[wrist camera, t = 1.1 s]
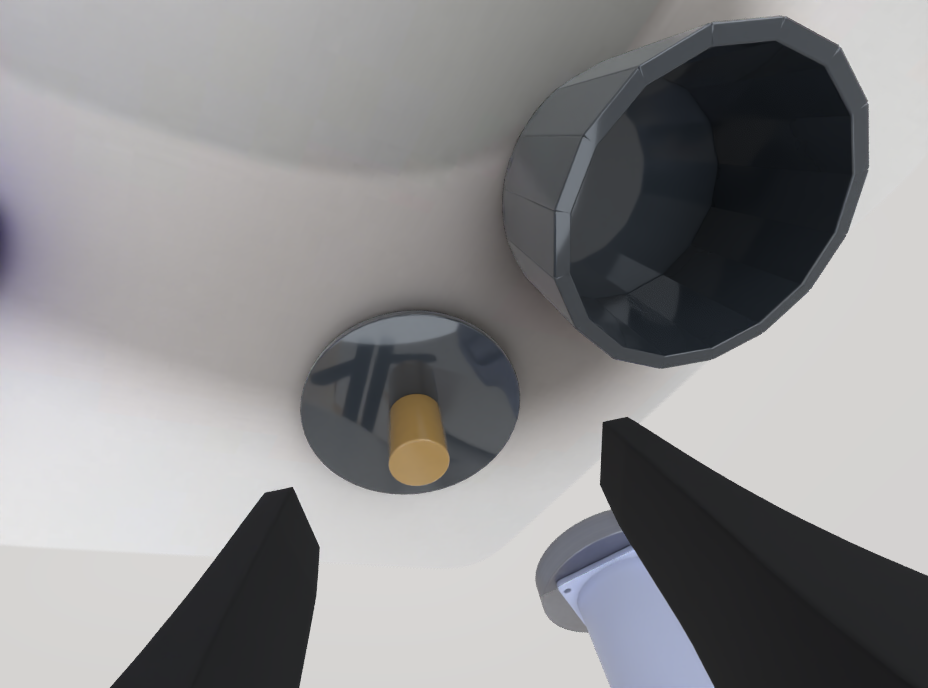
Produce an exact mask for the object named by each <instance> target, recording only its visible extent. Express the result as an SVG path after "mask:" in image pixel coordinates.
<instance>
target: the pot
mask: <svg viewBox="0 0 928 688" xmlns="http://www.w3.org/2000/svg"><path fill="white" fill-rule="evenodd" d="M867 102H868V100H867V98H866V96H865V94H864V92H863V90H862V88H861V86H860V84H859V82H858V80H857V78H856V76H855V74H854V72H853V70H852V68H851V66H850V64H849V62H848V60H847V58H846V56H845V54H844V52H843V50H842V48H841V47H839V45H837V44H836V43H834V42H832V41H830V40H828V39H826V38H825V37H823V36H821V35H819V34H817V33H816V32H814V31H812V30H810V29H808V28H806V27H805V26H803V25H801V24H799V23H797V22H795V21H794V20H792V19H790V18H788V17H786V16H771V17H760V18H749V19H738V20H727V21H716V22H711V23H708V24H705V25H702V26H699V27H696V28H694V29H691V30H688V31H685V32H682V33H680V34H677V35H674V36H671V37H668V38H666V39H663V40H660V41H657V42H655V43H652V44H649V45H646V46H643V47H641V48H638V49H635V50H632V51H629V52H627V53H624V54H621V55H618V56H615V57H613V58H610V59H607V60H604V61H602V62H600V63H598V64H597V65H595V66H593V67H592V68H590V69H588V70H586V71H585V72H583V73H581V74H579V75H577V76H575V77H573V78H572V79H571V80H569V81H568V82H566V83H565V84H563V85H562V86H560V87H559V88H557V89H556V90H555V91H554V92H553V93H552V95H551V96H549V97H548V98H547V99H546V100H545V101H544V103H543V104H542V105H541V106H540V107H539V108H538V110H537V111H536V112H535V113H534V114H533V116H532V117H531V119H530V120H529V122H528V123H527V125H526V126H525V128H524V129H523V131H522V133H521V135H520V137H519V139H518V141H517V143H516V145H515V147H514V150H513V153H512V155H511V158H510V161H509V164H508V168H507V172H506V176H505V180H504V188H503V196H502V213H503V222H504V229H505V233H506V237H507V241H508V244H509V246H510V249H511V251H512V254H513V256H514V258H515V259H516V261H517V263H518V265H519V266H520V268H521V270H522V272H523V274H524V276H525V277H526V278H527V279H528V280H529V281H530V282H531V283H532V284H533V285H534V286H535V287H536V288H537V289H538V290H539V291H540V292H541V294H542V295H543V296H544V297H545V298H546V299H547V300H548V301H549V302H550V303H551V304H552V305H553V306H554V307H555V308H556V309H557V310H558V311H559V312H560V313H561V314H562V315H563V316H564V317H565V318H566V319H567V320H568V321H569V322H570V323H571V324H572V326H573V327H574V328H575V329H576V330H578V331H579V332H580V333H581V334H583V335H584V336H585V337H586V338H588V339H589V340H590V341H591V342H593V343H594V344H595V345H596V346H598V347H599V348H600V349H601V350H603V351H604V352H605V353H606V354H608V355H609V356H610V357H611V358H613V359H616V360H621V361H626V362H630V363H635V364H640V365H645V366H649V367H654V368H659V369H660V368H662V369H663V368H669V367H674V366H680V365H686V364H691V363H697V362H702V361H708V360H711V359H714V358H716V357H718V356H720V355H722V354H724V353H726V352H728V351H730V350H731V349H734V348H736V347H738V346H739V345H741V344H743V343H745V342H747V341H749V340H751V339H753V338H755V337H757V336H759V335H761V334H762V332H765V331H766V330H767V329H768V328H769V327H770V326H771V325H772V324H774V323H775V322H776V321H777V320H778V319H779V318H780V317H781V316H782V315H783V314H785V313H786V312H787V311H788V310H789V309H790V308H791V307H792V306H793V305H794V304H796V303H797V302H798V301H799V300H800V299H801V298H802V297H803V296H804V295H805V294H807V292H809V290H810V289H811V288H812V287H813V285H814V283H815V282H816V281H817V279H818V278H819V276H820V275H821V273H822V272H823V270H824V268H825V267H826V265H827V264H828V262H829V261H830V259H831V258H832V256H833V255H834V253H835V252H836V250H837V249H838V247H839V246H840V244H841V243H842V241H843V240H844V238H845V237H846V234H847V233H848V230H849V227H850V224H851V221H852V218H853V215H854V212H855V209H856V206H857V203H858V200H859V197H860V194H861V191H862V188H863V185H864V182H865V179H866V176H867V173H868V170H867V169H868V168H869V104H868V103H867Z"/></svg>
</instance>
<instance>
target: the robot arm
mask: <svg viewBox="0 0 928 688" xmlns="http://www.w3.org/2000/svg"><path fill="white" fill-rule="evenodd" d="M600 485H601V487H602V490H603V492H604V494H605V496H606V499H607V501H608V503H609V505H610V507H611V509H612V511H613V514H614V516H615V518H616V520H617V522H618V524H619V526H620V527H621V529H622V531H623V532H624V534H625V536H626V537H627V539H628V541H629V542H630V544H631V545H630V546H628V547H626V548H623V549H621V550H619V551H617V552H615V553H613V554H611V555H609V556H607V557H605V558H603V559H601V560H599V561H597V562H595V563H593V564H591V565H589V566H587V567H585V568H582V569H580V570H578V571H576V572H574V573H572V574H570V575H568V576H566V577H564V578H562V579H560V580H559V581H558V582H557V584H556V585H557V588H558V590H559V592H560V593H561V594H562V596H563V597H564V598H565V599H566V601H567V602H568V603H569V605H570V606H571V607H572V609H573V610H574V611H575V613H576V614H577V615H578V617H579V618H580V619H581V620H582V622H583V623H584V624H585V626H586V627H587V630H588V632H589V634H590V637H591V639H592V642H593V644H594V647H595V650H596V652H597V654H598V657H599V659H600V662H601V665H602V667H603V669H604V672H605V675H606V677H607V679H608V682H609V684H610V687H611V688H928V576H927V575H924V574H922V573H919V572H917V571H915V570H913V569H910V568H908V567H905V566H903V565H901V564H898V563H896V562H894V561H891V560H889V559H886V558H884V557H882V556H880V555H877V554H875V553H873V552H871V551H868V550H866V549H864V548H862V547H859V546H857V545H855V544H853V543H850V542H848V541H846V540H844V539H842V538H840V537H838V536H836V535H834V534H831V533H830V532H828V531H825V530H823V529H821V528H819V527H817V526H815V525H813V524H811V523H809V522H807V521H805V520H803V519H801V518H799V517H797V516H795V515H792V514H791V513H789V512H787V511H785V510H783V509H781V508H779V507H777V506H776V505H774V504H772V503H770V502H768V501H766V500H765V499H763V498H761V497H759V496H757V495H755V494H754V493H752V492H750V491H748V490H746V489H744V488H743V487H741V486H739V485H737V484H736V483H734V482H732V481H731V480H729V479H727V478H725V477H724V476H722V475H720V474H719V473H717V472H715V471H713V470H712V469H710V468H708V467H707V466H705V465H703V464H702V463H700V462H699V461H697V460H695V459H694V458H692V457H690V456H689V455H687V454H686V453H684V452H682V451H681V450H679V449H678V448H676V447H674V446H673V445H671V444H670V443H668V442H667V441H665V440H663V439H662V438H660V437H659V436H657V435H656V434H654V433H652V432H651V431H649V430H648V429H646V428H645V427H643V426H641V425H640V424H638V423H637V422H635V421H633V420H632V419H630V418H628V417H625V418H620V419H615V420H610V421H606V422H603V429H602V452H601V476H600ZM319 549H320V547H319V545H318V542H317V540H316V538H315V536H314V533H313V531H312V529H311V527H310V525H309V522H308V520H307V518H306V516H305V513H304V511H303V509H302V507H301V504H300V502H299V500H298V498H297V495H296V493H295V491H294V489H293V487H290V488H286V489H281V490H276V491H271V492H266V493H264V495H263V496H262V497H261V498H260V500H259V501H258V502H257V504H256V505H255V506H254V508H253V509H252V510H251V512H250V513H249V514H248V516H247V517H246V518H245V520H244V521H243V522H242V524H241V525H240V526H239V528H238V529H237V531H236V532H235V533H234V535H233V536H232V537H231V539H230V540H229V541H228V543H227V544H226V545H225V547H224V548H223V549H222V551H221V552H220V553H219V555H218V556H217V557H216V559H215V560H214V561H213V563H212V564H211V565H210V567H209V568H208V569H207V571H206V572H205V573H204V574H203V576H202V577H201V578H200V580H199V581H198V582H197V584H196V585H195V586H194V587H193V589H192V590H191V591H190V593H189V594H188V595H187V596H186V598H185V599H184V600H183V601H182V603H181V604H180V605H179V606H178V608H177V609H176V610H175V611H174V612H173V614H172V615H171V616H170V617H169V619H168V620H167V621H166V622H165V623H164V625H163V626H162V627H161V628H160V630H159V631H158V632H157V633H156V634H155V636H154V637H153V638H152V639H151V641H150V642H149V643H148V644H147V645H146V647H145V648H144V649H143V650H142V652H141V653H140V654H139V655H138V656H137V657H136V658H135V660H134V661H133V662H132V663H131V664H130V665H129V667H128V668H127V669H126V670H125V671H124V672H123V673H122V675H121V676H120V677H119V678H118V679H117V680H116V681H115V682H114V684H113V685H112V686H111V687H110V688H299V686H300V681H301V675H302V669H303V664H304V659H305V654H306V649H307V644H308V638H309V633H310V627H311V622H312V616H313V611H314V605H315V599H316V591H317V580H318V565H319Z"/></svg>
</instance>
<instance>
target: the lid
mask: <svg viewBox="0 0 928 688" xmlns="http://www.w3.org/2000/svg"><path fill="white" fill-rule="evenodd" d="M519 408H520V391H519V384H518V380H517V377H516V373H515V371H514V369H513V367H512V364H511V362H510V360H509V359H508V357H507V355H506V354H505V352H504V351H503V350H502V348H501V347H500V346H499V345H498V344H497V343H496V341H495V340H494V339H493V338H492V337H490V336H489V335H488V334H487V333H485V332H484V331H483V330H481V329H480V328H478V327H476V326H475V325H473V324H471V323H469V322H467V321H465V320H462V319H460V318H458V317H455V316H451V315H448V314H444V313H439V312H432V311H417V310H410V311H399V312H393V313H388V314H384V315H379V316H377V317H374V318H371V319H368V320H365V321H363V322H361V323H359V324H357V325H355V326H353V327H351V328H350V329H348V330H347V331H345V332H344V333H342V334H341V335H339V336H338V337H337V338H336V339H334V340H333V341H332V342H331V343H330V344H329V345H328V346H327V347H326V348H325V349H324V350H323V352H322V353H321V354H320V355H319V356H318V358H317V359H316V361H315V363H314V364H313V366H312V367H311V369H310V372H309V374H308V377H307V379H306V381H305V384H304V388H303V392H302V396H301V407H300V412H301V422H302V426H303V430H304V434H305V436H306V438H307V440H308V443H309V445H310V447H311V448H312V450H313V451H314V453H315V454H316V456H317V457H318V458H319V459H320V460H321V461H322V462H323V464H324V465H326V466H327V467H328V468H329V469H330V470H331V471H332V472H334V473H335V474H337V475H338V476H340V477H341V478H343V479H344V480H346V481H348V482H350V483H352V484H355V485H357V486H360V487H363V488H365V489H369V490H373V491H377V492H382V493H389V494H419V493H426V492H432V491H436V490H440V489H443V488H446V487H449V486H452V485H455V484H457V483H459V482H461V481H463V480H465V479H467V478H469V477H470V476H472V475H474V474H476V473H477V472H478V471H480V470H481V469H482V468H484V467H485V466H486V465H487V464H489V463H490V462H491V461H492V460H493V459H494V458H495V457H496V456H497V455H498V453H499V452H500V451H501V450H502V449H503V447H504V446H505V444H506V443H507V441H508V440H509V438H510V436H511V434H512V432H513V430H514V427H515V424H516V421H517V418H518V413H519Z"/></svg>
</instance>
